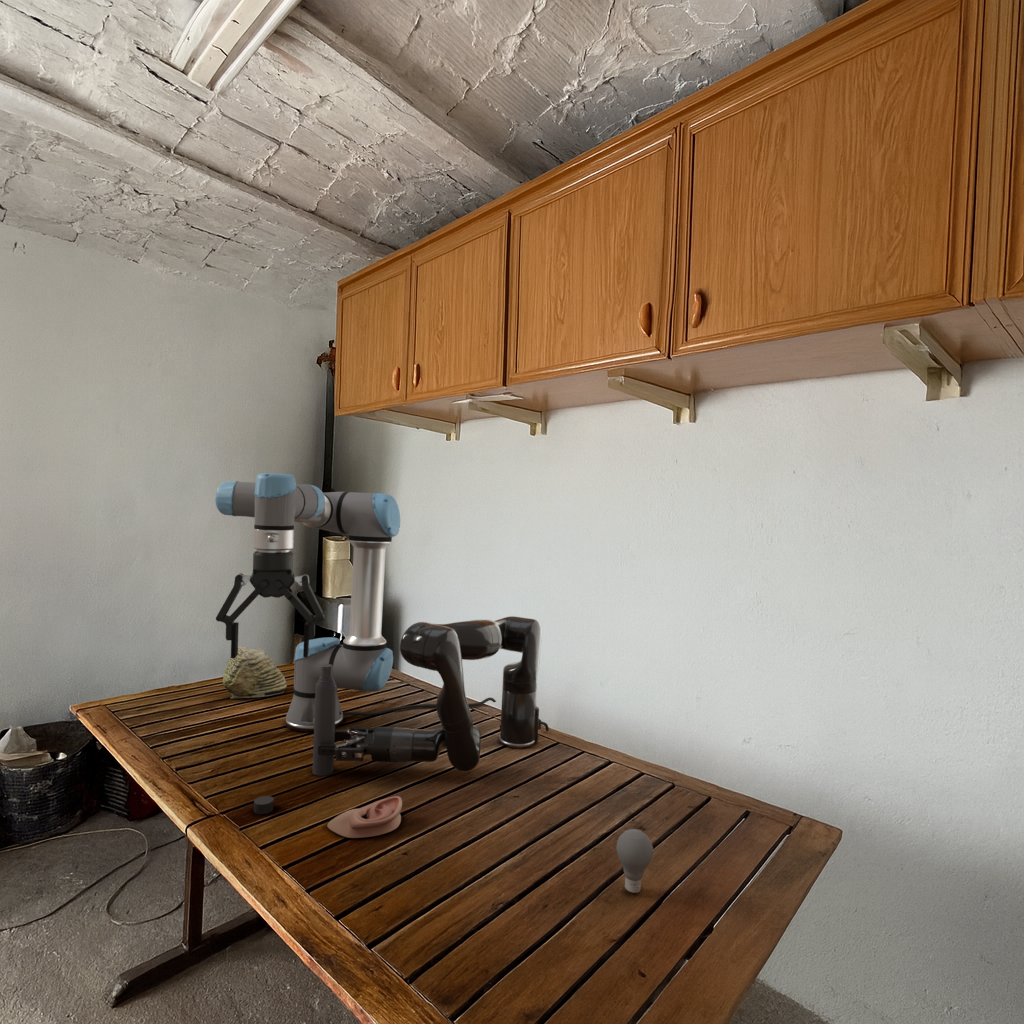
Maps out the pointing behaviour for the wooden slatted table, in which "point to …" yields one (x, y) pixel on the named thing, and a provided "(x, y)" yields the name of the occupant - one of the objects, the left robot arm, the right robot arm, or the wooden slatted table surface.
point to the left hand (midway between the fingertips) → (270, 656)
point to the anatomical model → (369, 819)
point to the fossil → (252, 675)
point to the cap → (263, 805)
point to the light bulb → (634, 857)
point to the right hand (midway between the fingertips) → (323, 742)
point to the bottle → (324, 720)
